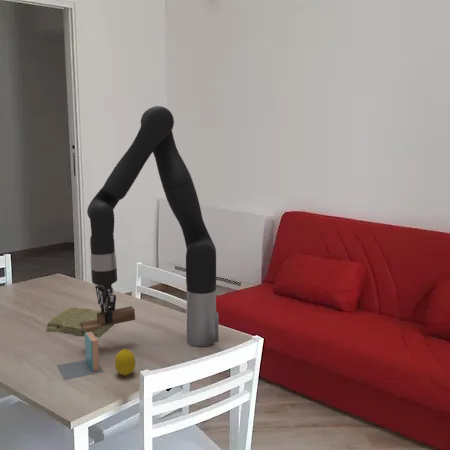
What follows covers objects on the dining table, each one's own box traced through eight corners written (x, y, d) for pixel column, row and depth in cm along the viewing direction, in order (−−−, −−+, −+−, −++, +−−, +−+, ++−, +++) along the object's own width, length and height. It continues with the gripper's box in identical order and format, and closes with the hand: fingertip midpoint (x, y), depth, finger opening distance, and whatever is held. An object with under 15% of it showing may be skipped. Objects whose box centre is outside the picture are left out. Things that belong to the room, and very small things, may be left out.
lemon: (136, 371, 164) (135, 345, 162) (134, 380, 158) (133, 353, 157) (116, 371, 163) (116, 345, 162) (113, 380, 158) (112, 353, 156)
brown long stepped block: (136, 321, 178) (136, 310, 178) (85, 331, 171) (84, 320, 170) (130, 315, 183) (129, 304, 183) (80, 325, 176) (79, 314, 175)
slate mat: (94, 359, 171) (94, 358, 171) (104, 372, 163) (104, 371, 163) (56, 366, 166) (56, 365, 166) (64, 381, 158) (64, 379, 158)
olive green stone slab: (68, 314, 209) (68, 305, 209) (121, 319, 205) (121, 309, 205) (42, 334, 191) (42, 324, 191) (99, 339, 187) (99, 329, 187)
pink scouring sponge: (92, 360, 169) (91, 331, 168) (99, 370, 163) (97, 340, 162) (85, 362, 169) (84, 332, 167) (92, 371, 162) (90, 341, 161)
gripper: (123, 270, 169) (126, 326, 173) (108, 259, 181) (112, 312, 185) (98, 274, 166) (101, 331, 169) (85, 263, 178) (88, 316, 181)
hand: (107, 321), depth 177 cm, fingers closed on brown long stepped block, 3 cm apart
